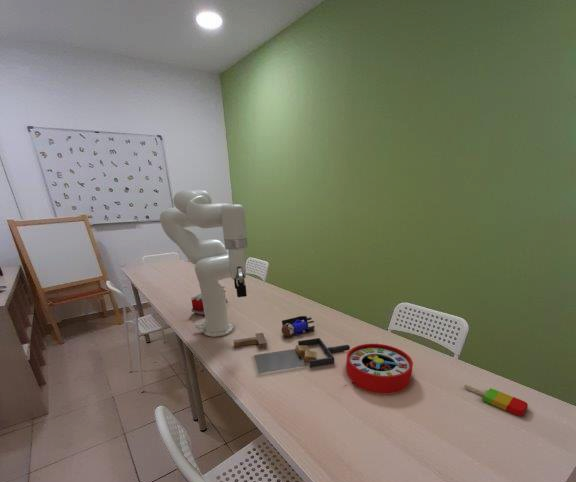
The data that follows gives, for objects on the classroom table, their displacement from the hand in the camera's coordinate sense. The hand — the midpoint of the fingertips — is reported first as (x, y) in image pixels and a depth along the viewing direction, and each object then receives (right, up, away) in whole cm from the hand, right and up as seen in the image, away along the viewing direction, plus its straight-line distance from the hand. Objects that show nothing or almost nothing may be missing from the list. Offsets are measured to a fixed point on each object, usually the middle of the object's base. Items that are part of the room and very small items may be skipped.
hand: (240, 292), depth 107 cm
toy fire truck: (-22, -5, +46) cm, 51 cm away
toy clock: (+46, -28, -10) cm, 55 cm away
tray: (+14, -25, -2) cm, 29 cm away
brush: (+2, -20, +9) cm, 22 cm away
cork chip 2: (+25, -24, -3) cm, 34 cm away
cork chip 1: (+22, -22, +1) cm, 31 cm away
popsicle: (+74, -32, -23) cm, 84 cm away
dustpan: (+31, -23, +1) cm, 39 cm away
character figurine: (+21, -16, +17) cm, 32 cm away
